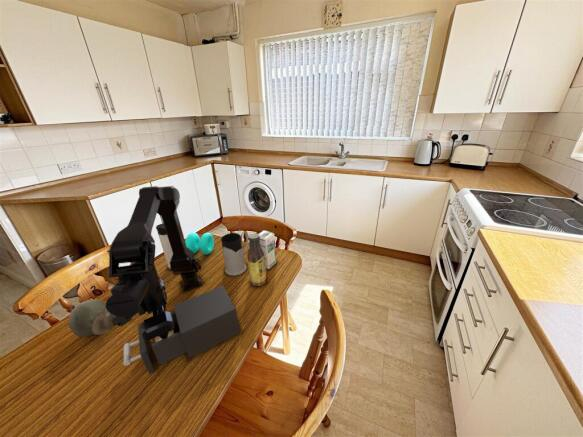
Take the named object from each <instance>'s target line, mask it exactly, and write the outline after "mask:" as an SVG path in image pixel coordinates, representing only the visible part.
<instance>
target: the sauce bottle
mask: <svg viewBox="0 0 583 437" xmlns="http://www.w3.org/2000/svg"><path fill="white" fill-rule="evenodd" d="M248 246H249V248H247V249H248V250H247V252H246V253H247V254H246V255H247V266H248V267H247V268H248V274H249V280H250V283H251V285H252V286H255V287H260V286H263V285H264V284H266V282H267V268H266V267H265V256H264V252H263V250H262V248H261V246H260V236H259V233H255V232H253V233H250V234H248Z"/></svg>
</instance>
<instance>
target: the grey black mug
mask: <svg viewBox="0 0 583 437" xmlns="http://www.w3.org/2000/svg"><path fill="white" fill-rule="evenodd" d="M244 234H246V243H245V246H243V236H244ZM248 236H249V233H248V231H242V232H241V234H239V233H238V232H230V233H226V234H223V235H222V236H221V238H220V241H221V249H222V255H223V260H224V265H225V266H224V267H225V269H224V271H225V274H226V275H228V276H239V275H241V274H244V273H245V271H246V270H247V268H248V267H247V265H246V262H245V261H246V260H245V254H246V251H247V249H248V246H249V240H248ZM243 247H244V248H243Z"/></svg>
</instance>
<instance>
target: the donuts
mask: <svg viewBox="0 0 583 437" xmlns="http://www.w3.org/2000/svg"><path fill="white" fill-rule="evenodd" d="M185 243H186V246H187V248H189V249H190V250H191V251H193V253H194V255H195V254H196V253H198V252H199V250H200V252H201V253H202V254H203V255H205V256H208V255H210V254H211V253H212V252H213V250H214V247H215V238H214V236H213V234H212V233H210V232H205V233H203V234H202V235H201V237H200V235H199V234H198V233H196V232H190V233H188V234H187V236H186V237H185Z"/></svg>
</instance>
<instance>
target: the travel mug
mask: <svg viewBox="0 0 583 437" xmlns="http://www.w3.org/2000/svg"><path fill="white" fill-rule="evenodd" d="M155 229H156V232H157V235H158V238H159V243H160V245H161V248H162V251H163V254H164V258H165V261H166V264H167V267H168V269H169V270H171V268H170V260H171V258H172V255H173V252H172V249H171V246H170V243H169V239H168V236H167V233H166V230H165V227H164V224H163V223H159V224H157V225H156V226H155Z"/></svg>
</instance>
